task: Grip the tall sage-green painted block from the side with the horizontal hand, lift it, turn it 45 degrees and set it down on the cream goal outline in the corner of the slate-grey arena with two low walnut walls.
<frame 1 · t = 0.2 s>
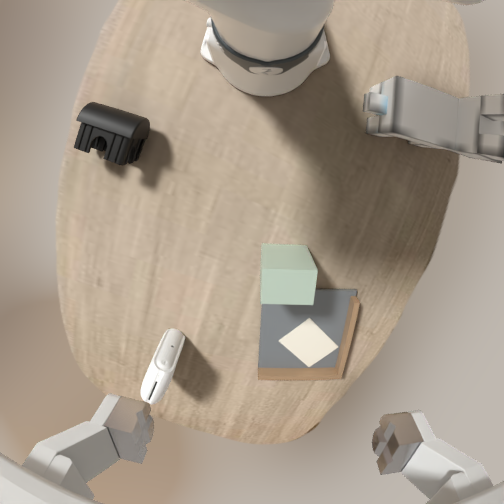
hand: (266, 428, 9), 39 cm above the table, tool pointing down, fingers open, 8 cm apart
toy llama: (403, 119, 40), on the table
sage block: (283, 259, 48), on the table
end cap: (121, 132, 42), on the table
arena: (304, 333, 53), on the table
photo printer: (170, 346, 55), on the table
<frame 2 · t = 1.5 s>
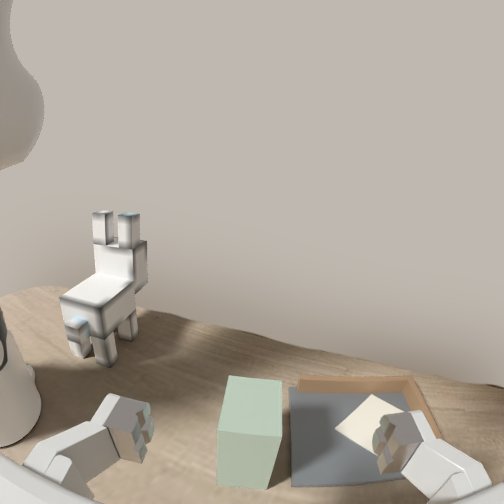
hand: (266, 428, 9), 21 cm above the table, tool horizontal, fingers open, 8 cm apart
toy llama: (109, 341, 45), on the table
sage block: (244, 462, 27), on the table
arena: (361, 432, 31), on the table
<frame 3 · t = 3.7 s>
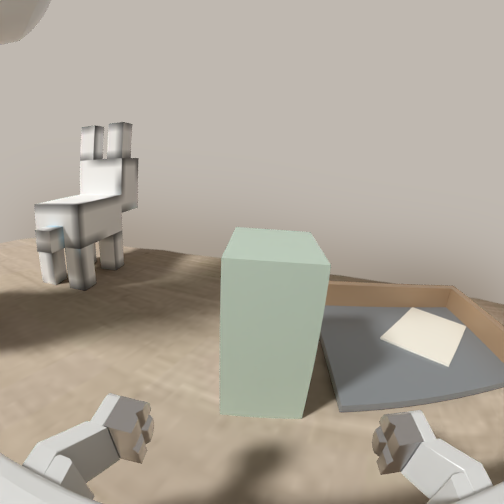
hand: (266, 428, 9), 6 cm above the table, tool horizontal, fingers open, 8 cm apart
toy llama: (89, 271, 38), on the table
sage block: (262, 382, 20), on the table
arena: (413, 345, 24), on the table
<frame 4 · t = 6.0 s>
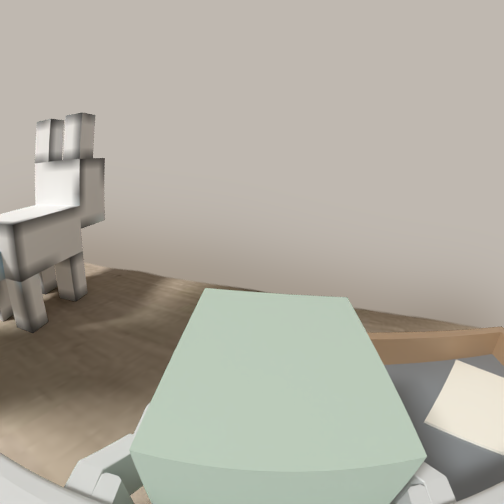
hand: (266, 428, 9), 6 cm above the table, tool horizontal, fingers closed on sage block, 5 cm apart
toy llama: (46, 301, 28), on the table
arena: (462, 422, 14), on the table
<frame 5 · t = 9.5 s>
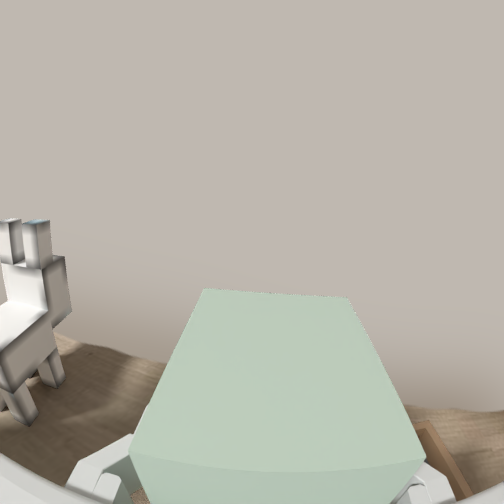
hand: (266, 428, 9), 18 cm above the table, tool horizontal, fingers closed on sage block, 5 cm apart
toy llama: (32, 387, 28), on the table
when the fingers open (7 cm above the table, at t = 13.3 s): sage block stays where it is, resting on arena.
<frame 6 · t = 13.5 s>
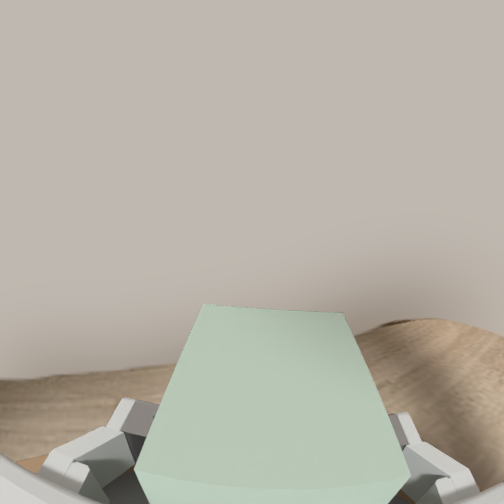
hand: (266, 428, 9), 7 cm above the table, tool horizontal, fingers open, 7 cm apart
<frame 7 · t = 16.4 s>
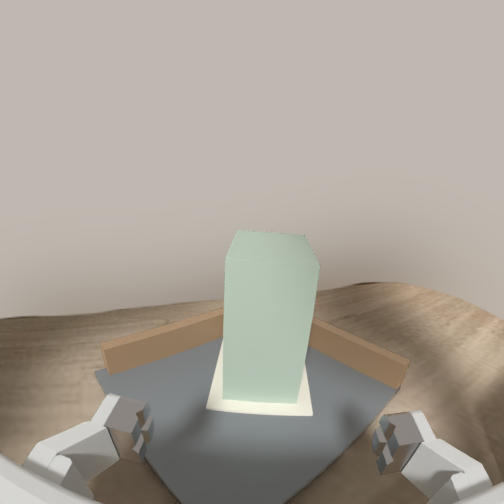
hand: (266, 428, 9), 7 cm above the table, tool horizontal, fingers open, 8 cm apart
sage block: (260, 371, 22), point 1 cm above the table, touching arena
arena: (250, 396, 20), on the table
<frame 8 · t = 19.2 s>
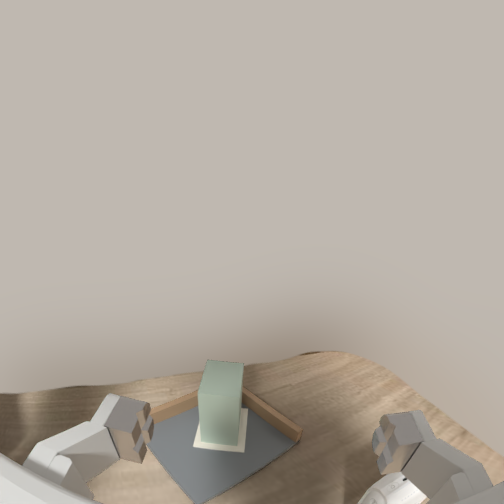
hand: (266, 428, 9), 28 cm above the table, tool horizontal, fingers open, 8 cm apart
sage block: (222, 426, 39), point 1 cm above the table, touching arena
arena: (215, 439, 37), on the table
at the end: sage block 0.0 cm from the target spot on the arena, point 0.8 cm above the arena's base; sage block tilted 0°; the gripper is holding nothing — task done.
